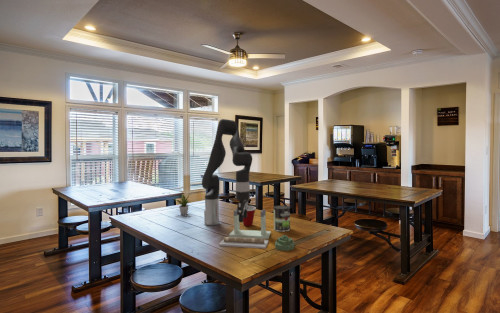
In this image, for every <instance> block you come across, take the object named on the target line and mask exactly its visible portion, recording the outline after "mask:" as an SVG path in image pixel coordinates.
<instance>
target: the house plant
mask: <svg viewBox="0 0 500 313" xmlns="http://www.w3.org/2000/svg"><path fill="white" fill-rule="evenodd" d="M191 195H192V193H189V194H186V195H185V194H184V193H182V194H179V195H175V197H177V199H176V198H175V199H173V200H174V201H175V204H176V203H178V204H180V205H179V212H180V215H181V214H185V215H188V214H189V213H188V212H189V205H188V204H189V203H190V200H189V198H190V196H191ZM178 198H179V199H178ZM187 213H188V214H187Z"/></svg>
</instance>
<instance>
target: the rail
mask: <svg viewBox="0 0 500 313" xmlns="http://www.w3.org/2000/svg"><path fill="white" fill-rule="evenodd" d="M223 239H224V241H227V242H245V243H263V244H264V240H265V239H258V238H238V237H229V236H223Z"/></svg>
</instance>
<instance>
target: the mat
mask: <svg viewBox="0 0 500 313" xmlns="http://www.w3.org/2000/svg"><path fill="white" fill-rule="evenodd" d="M268 244H269V239H264V244H263V243H245V242H227V241H224V238H223V239H222V240H221V241H220V242H219V243H218V246H219V247H231V248H233V247H234V248H247V249H248V248H249V249H251V248H252V249H265V250H266V249H267V246H268Z"/></svg>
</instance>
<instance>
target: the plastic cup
mask: <svg viewBox="0 0 500 313" xmlns="http://www.w3.org/2000/svg"><path fill="white" fill-rule="evenodd" d="M256 209H257V207H256V206H254V205H248V210H247V218H243V222H242V223H243V226H244V227H252V226H253V224H254V216H255V212H256Z"/></svg>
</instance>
